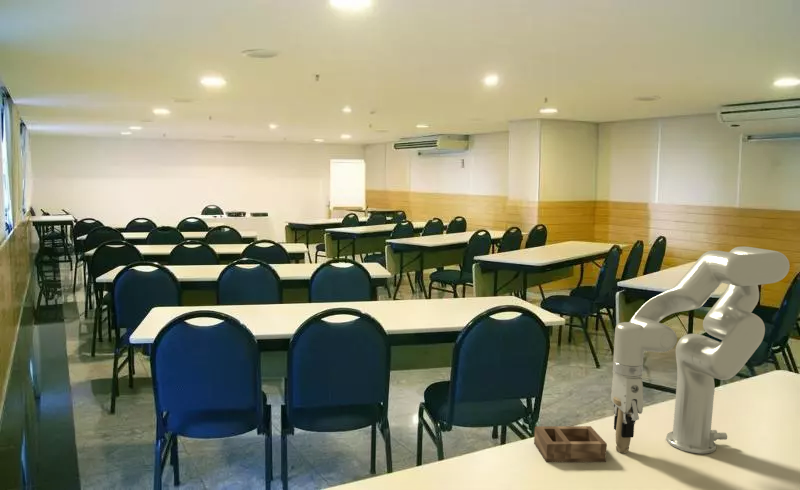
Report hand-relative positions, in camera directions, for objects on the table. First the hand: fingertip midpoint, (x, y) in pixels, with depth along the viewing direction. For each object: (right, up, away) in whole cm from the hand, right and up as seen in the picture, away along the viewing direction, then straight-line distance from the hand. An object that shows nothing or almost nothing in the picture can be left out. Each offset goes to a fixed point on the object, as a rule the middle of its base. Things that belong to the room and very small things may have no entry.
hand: (623, 432), depth 162 cm
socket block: (-15, -5, -1) cm, 16 cm away
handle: (0, -5, +1) cm, 5 cm away
